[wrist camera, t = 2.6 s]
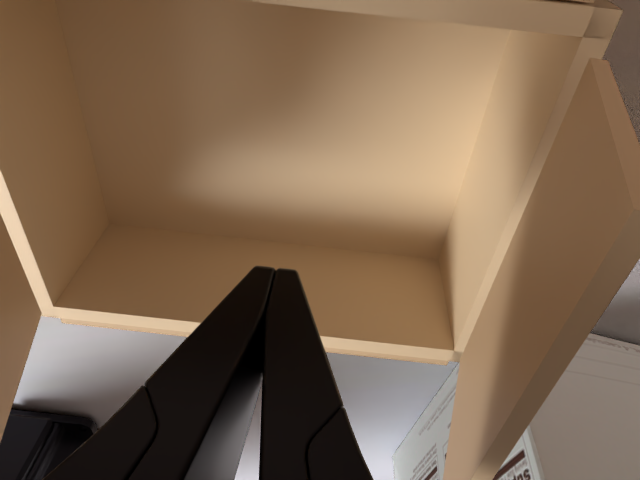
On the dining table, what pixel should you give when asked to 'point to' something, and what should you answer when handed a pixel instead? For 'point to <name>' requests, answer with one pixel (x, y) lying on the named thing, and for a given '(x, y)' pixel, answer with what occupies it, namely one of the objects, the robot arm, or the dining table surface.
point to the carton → (282, 155)
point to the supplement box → (552, 424)
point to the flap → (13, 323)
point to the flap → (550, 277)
